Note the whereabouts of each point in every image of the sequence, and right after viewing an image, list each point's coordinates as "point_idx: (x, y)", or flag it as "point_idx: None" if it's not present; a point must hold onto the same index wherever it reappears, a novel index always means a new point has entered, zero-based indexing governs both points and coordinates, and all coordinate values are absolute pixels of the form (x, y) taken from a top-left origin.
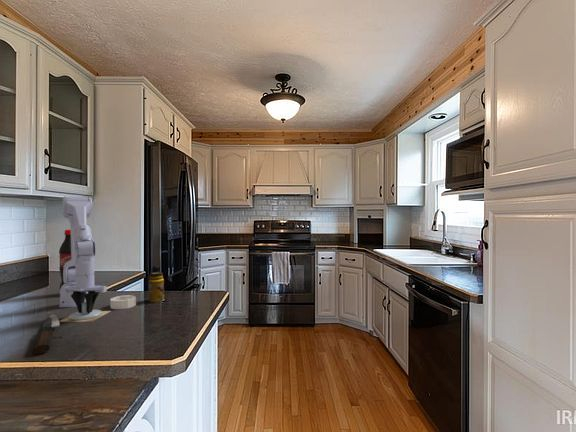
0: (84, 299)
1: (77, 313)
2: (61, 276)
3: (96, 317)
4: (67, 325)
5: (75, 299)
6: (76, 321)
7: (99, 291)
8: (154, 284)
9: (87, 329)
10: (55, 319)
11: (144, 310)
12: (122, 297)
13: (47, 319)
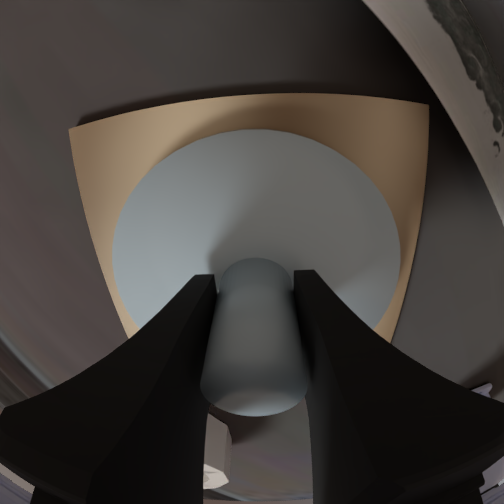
0: (311, 442)
1: (347, 290)
2: (496, 484)
3: (113, 236)
4: (258, 15)
5: (397, 387)
6: (221, 97)
7: (4, 484)
8: None
9: (27, 4)
10: (434, 57)
11: (24, 365)
12: None
13: (498, 90)
